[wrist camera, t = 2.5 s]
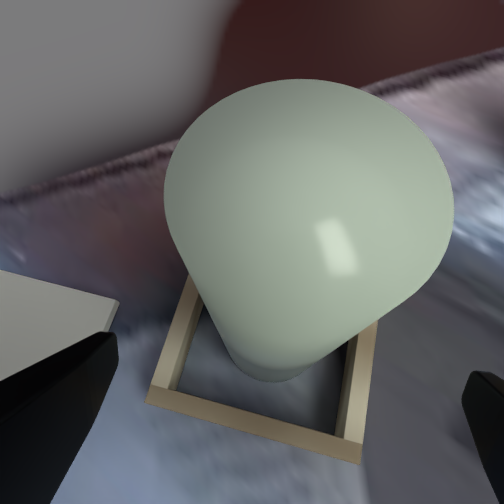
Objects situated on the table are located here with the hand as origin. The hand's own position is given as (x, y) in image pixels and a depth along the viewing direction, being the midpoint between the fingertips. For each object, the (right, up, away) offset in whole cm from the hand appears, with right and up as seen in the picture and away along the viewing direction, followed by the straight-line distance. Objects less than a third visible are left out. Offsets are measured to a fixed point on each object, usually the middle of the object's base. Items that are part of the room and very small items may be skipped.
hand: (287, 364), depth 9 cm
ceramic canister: (0, -1, +10) cm, 10 cm away
